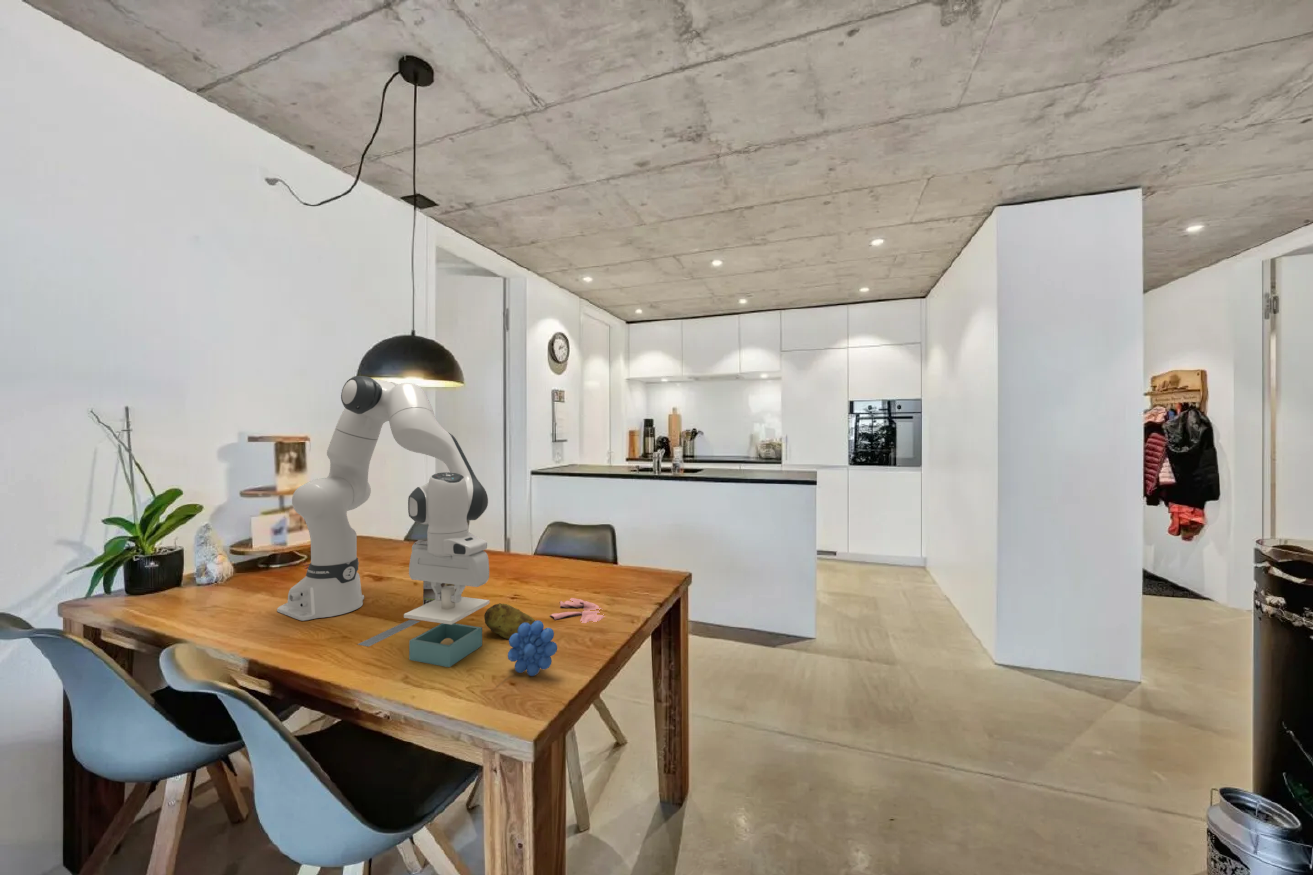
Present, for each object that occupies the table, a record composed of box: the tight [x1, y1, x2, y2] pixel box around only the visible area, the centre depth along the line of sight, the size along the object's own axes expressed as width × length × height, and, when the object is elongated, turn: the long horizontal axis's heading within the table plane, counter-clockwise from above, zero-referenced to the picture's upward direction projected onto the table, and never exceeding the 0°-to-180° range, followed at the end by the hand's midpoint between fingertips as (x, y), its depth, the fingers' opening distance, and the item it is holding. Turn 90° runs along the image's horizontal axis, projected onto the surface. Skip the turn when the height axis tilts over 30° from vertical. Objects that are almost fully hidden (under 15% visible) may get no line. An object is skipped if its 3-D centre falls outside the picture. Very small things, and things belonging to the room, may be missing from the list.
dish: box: [408, 622, 483, 668], centre depth 109 cm, size 11×11×5 cm
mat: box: [356, 619, 421, 648], centre depth 118 cm, size 16×16×1 cm
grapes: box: [507, 619, 558, 677], centre depth 101 cm, size 12×7×12 cm, turn 75°
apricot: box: [440, 638, 454, 645], centre depth 109 cm, size 3×3×3 cm
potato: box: [483, 603, 536, 640], centre depth 119 cm, size 8×13×8 cm, turn 67°
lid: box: [403, 586, 490, 625], centre depth 109 cm, size 13×13×5 cm
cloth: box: [549, 597, 605, 624], centre depth 137 cm, size 20×22×2 cm
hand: (448, 601), depth 109 cm, fingers closed on lid, 3 cm apart
